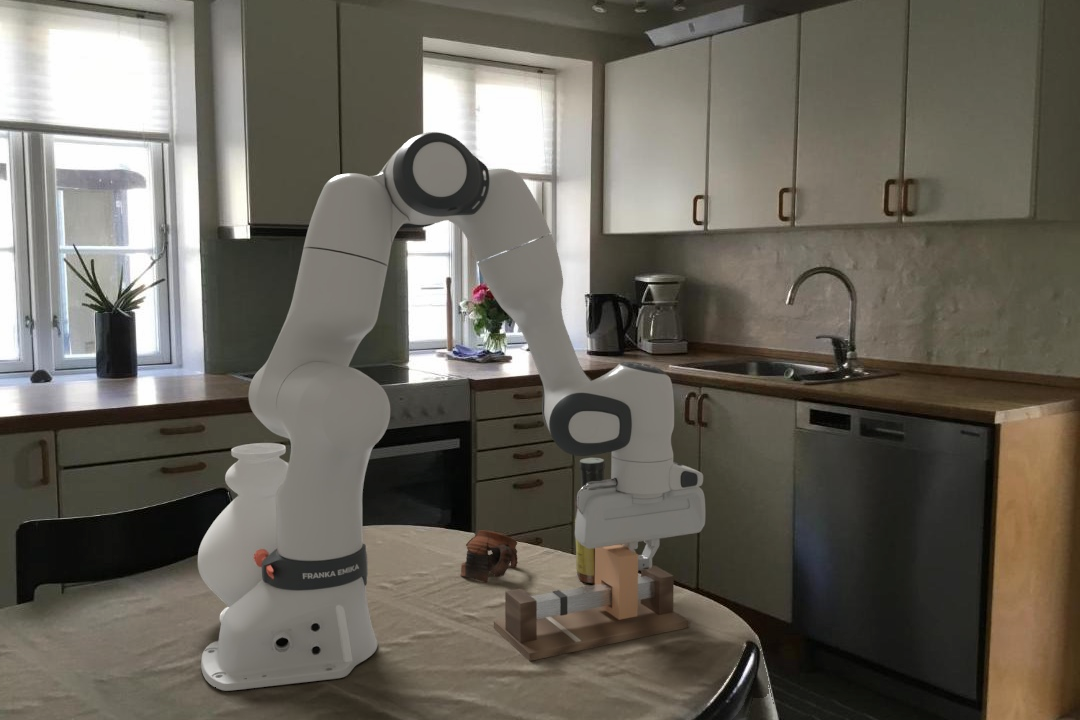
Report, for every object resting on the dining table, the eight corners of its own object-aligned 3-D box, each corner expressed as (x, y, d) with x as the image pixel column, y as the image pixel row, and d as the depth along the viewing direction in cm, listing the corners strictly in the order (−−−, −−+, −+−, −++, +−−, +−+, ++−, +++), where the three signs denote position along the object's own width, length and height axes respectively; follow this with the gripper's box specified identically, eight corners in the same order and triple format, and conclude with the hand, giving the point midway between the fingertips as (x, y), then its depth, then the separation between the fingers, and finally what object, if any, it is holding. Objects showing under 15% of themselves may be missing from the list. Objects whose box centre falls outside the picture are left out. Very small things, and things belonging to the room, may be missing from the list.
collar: (619, 619, 130) (619, 557, 129) (594, 602, 136) (595, 543, 135) (637, 616, 131) (638, 554, 130) (612, 599, 138) (612, 540, 136)
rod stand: (529, 660, 121) (529, 613, 121) (493, 627, 132) (493, 583, 131) (688, 627, 132) (689, 583, 132) (643, 599, 143) (644, 558, 142)
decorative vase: (281, 647, 126) (274, 466, 123) (173, 630, 131) (164, 456, 128) (349, 601, 142) (345, 440, 139) (250, 587, 148) (244, 433, 145)
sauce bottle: (614, 573, 155) (615, 456, 152) (614, 586, 148) (615, 464, 146) (575, 571, 155) (576, 455, 153) (573, 585, 149) (573, 463, 147)
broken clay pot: (447, 574, 155) (461, 527, 158) (493, 590, 160) (506, 544, 162) (481, 577, 145) (496, 526, 148) (530, 594, 150) (543, 544, 152)
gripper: (588, 488, 126) (587, 586, 128) (712, 473, 135) (710, 565, 136) (567, 478, 132) (566, 572, 133) (687, 464, 140) (685, 553, 142)
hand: (640, 568), depth 135 cm, fingers closed
